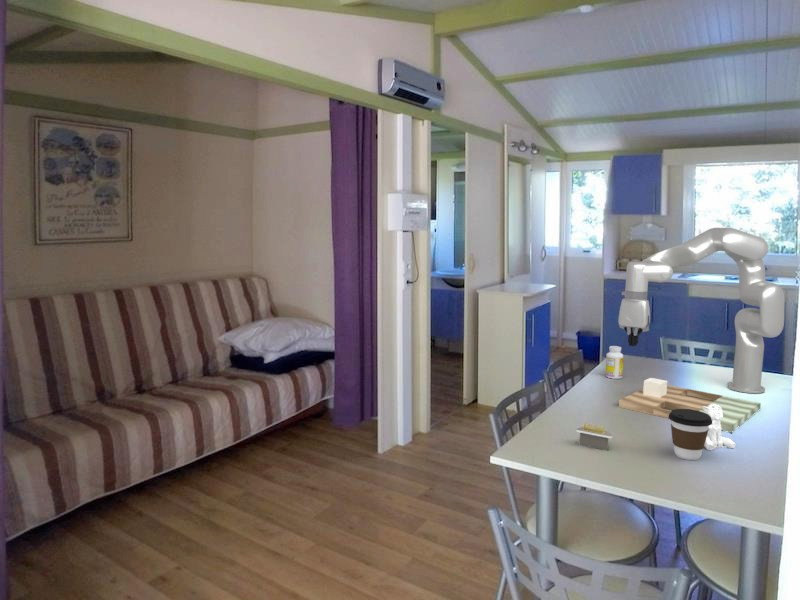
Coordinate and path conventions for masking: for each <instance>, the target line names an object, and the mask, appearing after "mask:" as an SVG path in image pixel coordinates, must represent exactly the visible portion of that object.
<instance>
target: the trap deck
mask: <svg viewBox="0 0 800 600" xmlns="http://www.w3.org/2000/svg"><path fill="white" fill-rule="evenodd" d="M714 404H716V405H719V406H720V407H721V409H722V413H723V417H722V418H721V420H720V424H721V428H722V429H721V430H723V432H726V431H728V432H727V433H730V432H732V431H733V432H734V431H736V430H737V429H738V428H739V427H741V426H742V425H743V424H744V423H746V422H747V421H748V420H749V419H751V418H752V417H753V416H754V415H755V414H754V413H756V412H757V411H758V410H759V409H760V410H761V405H762V403H761V402H757V401H752V400H749V399H748V400H747V399H743V398H736V397H732V396H727V395H722V394H716V393H711V392H705V391H701V390H696V389H695V390H694V389H689V388H685V387H679V386H676V385H675V386H674V385H669V384H667V393H666V395H664V396H662V397H660V398H659V397H654V396H649V395H644V394H643V388H642V389H639V390H637V391H635V392H633V393H631V394H629V395H627V396H625V397H623V398H620V399H619V400H618V408H623V409H626V410H631V411H635V412H639V413H644V414H647V415H648V414H649V415H653V416H657V417H661V418H665V419H669V414H670V413H671V411H672V410H675V409H691V410H697V411H701V412H704V413H706V411H704V410H703V408H702V407H703V406H705V407H708V406H709V405H714ZM760 410H759V411H760ZM759 411H758V412H759ZM758 412H757V413H758ZM757 413H756V414H757ZM753 414H754V415H753ZM752 415H753V416H752ZM751 416H752V417H751ZM750 417H751V418H750ZM748 418H749V419H748ZM747 419H748V420H747ZM746 420H747V421H746ZM745 421H746V422H745ZM743 422H744V423H743ZM742 423H743V424H742ZM741 424H742V425H741ZM740 425H741V426H740ZM738 426H739V427H738ZM737 427H738V428H737ZM736 428H737V429H736ZM735 429H736V430H735ZM733 432H732V433H733Z"/></svg>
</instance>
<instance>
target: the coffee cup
mask: <svg viewBox="0 0 800 600" xmlns="http://www.w3.org/2000/svg"><path fill="white" fill-rule="evenodd" d="M668 419H670V423H671V424H670V429H671V430H670V431H671V441H672V444H673V452H674V453H675V456H676V457H677V458H680V459H683V460H687V461H698V460H699V459H700V458H701V456H702V453H703V449H704V448H705V447H704V445H705V441H706V437H707V434H708V430H709V429H708V427H709V425H711V424H712V419H711V417H710V416H709V415H708V414H706V413H704V412H701V411H697V410H691V409H675V410H672V411H671V413H670V414H669V418H668Z"/></svg>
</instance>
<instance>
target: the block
mask: <svg viewBox="0 0 800 600" xmlns="http://www.w3.org/2000/svg"><path fill="white" fill-rule="evenodd" d="M667 385H668V380H664V379H660V378H659V379H658V378H654V377H649V378H647V379H645V380H643V388H642V389H643V394H644V395H649V396H654V397H659V398H660V397H662V396H664V395H666V393H667Z"/></svg>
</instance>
